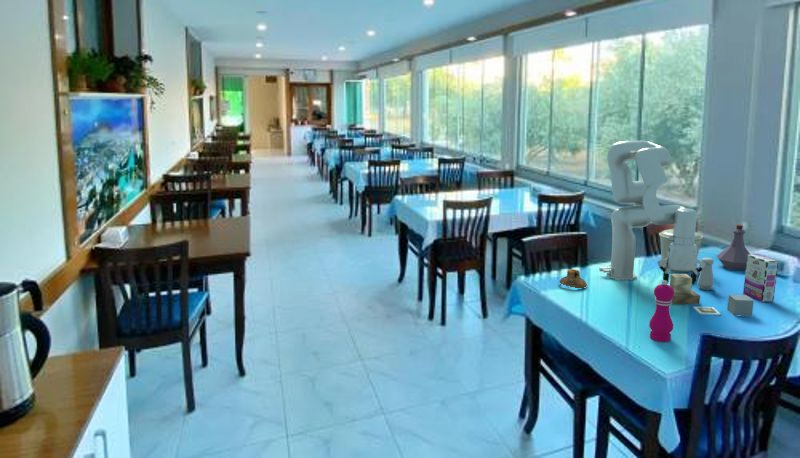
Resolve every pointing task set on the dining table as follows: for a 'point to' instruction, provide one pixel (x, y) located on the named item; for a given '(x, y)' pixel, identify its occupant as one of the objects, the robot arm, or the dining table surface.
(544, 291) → the dining table surface
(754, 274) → the candy bar box
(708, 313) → the card
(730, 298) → the grey cube
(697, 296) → the walnut block
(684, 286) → the maple cube
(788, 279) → the dining table surface
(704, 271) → the salt shaker
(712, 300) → the dining table surface
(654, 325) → the pepper mill
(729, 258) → the flask
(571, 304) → the dining table surface
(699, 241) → the canister
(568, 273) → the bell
